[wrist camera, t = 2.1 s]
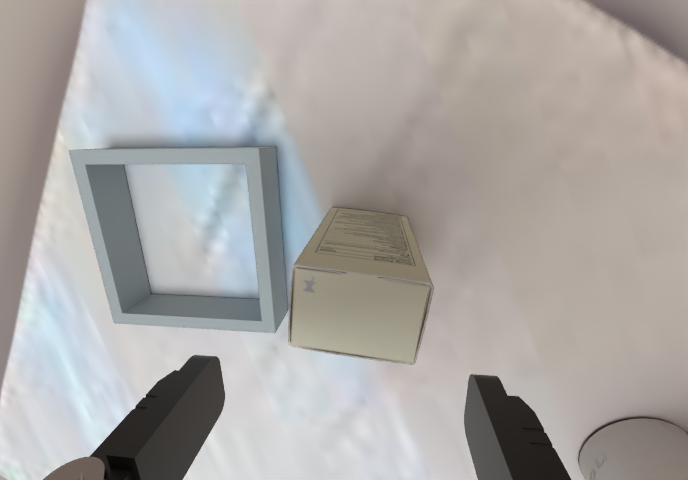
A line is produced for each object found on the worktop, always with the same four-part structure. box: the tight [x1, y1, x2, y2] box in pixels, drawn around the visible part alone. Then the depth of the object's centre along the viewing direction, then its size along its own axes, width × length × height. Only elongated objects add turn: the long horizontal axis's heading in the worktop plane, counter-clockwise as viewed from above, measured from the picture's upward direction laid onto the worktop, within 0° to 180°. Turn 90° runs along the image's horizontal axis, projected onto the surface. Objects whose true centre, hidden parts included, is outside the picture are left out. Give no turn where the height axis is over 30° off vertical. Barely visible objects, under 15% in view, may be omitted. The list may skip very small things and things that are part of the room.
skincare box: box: [288, 208, 434, 365], centre depth 20 cm, size 6×4×12 cm
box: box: [69, 147, 288, 333], centre depth 26 cm, size 14×14×4 cm
